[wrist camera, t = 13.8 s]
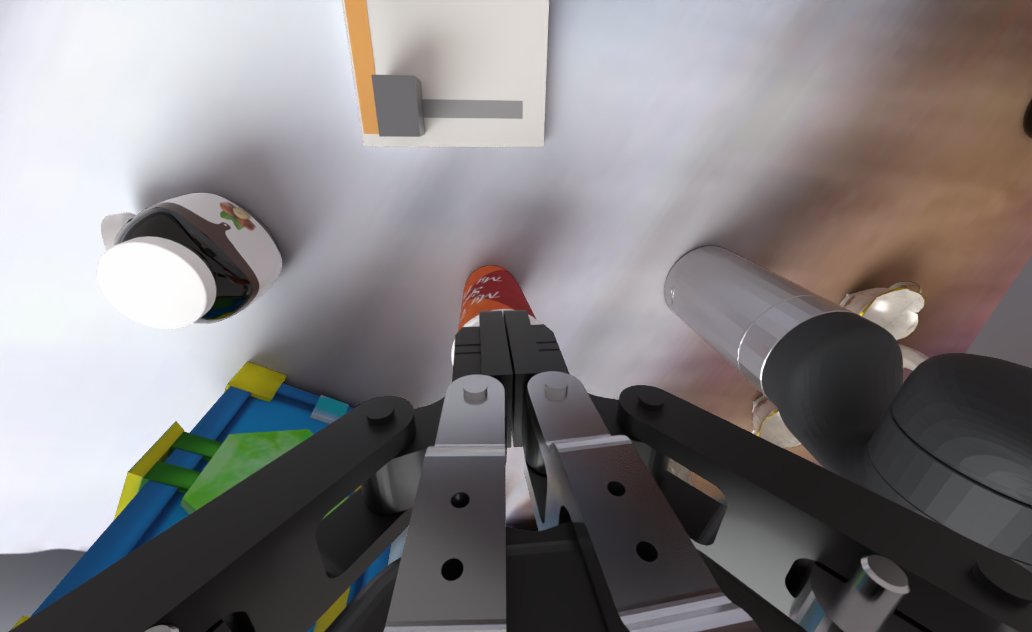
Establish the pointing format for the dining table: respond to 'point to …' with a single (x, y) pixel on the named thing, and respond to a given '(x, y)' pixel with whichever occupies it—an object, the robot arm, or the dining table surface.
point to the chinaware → (876, 305)
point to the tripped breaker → (398, 105)
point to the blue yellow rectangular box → (213, 471)
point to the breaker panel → (455, 67)
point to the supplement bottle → (1028, 121)
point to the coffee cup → (491, 296)
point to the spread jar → (186, 261)
